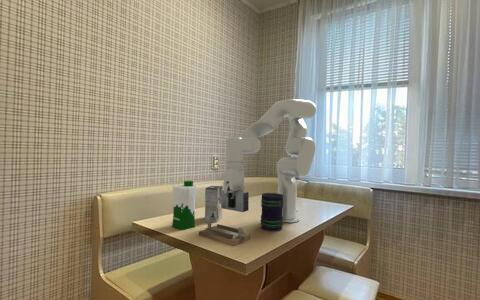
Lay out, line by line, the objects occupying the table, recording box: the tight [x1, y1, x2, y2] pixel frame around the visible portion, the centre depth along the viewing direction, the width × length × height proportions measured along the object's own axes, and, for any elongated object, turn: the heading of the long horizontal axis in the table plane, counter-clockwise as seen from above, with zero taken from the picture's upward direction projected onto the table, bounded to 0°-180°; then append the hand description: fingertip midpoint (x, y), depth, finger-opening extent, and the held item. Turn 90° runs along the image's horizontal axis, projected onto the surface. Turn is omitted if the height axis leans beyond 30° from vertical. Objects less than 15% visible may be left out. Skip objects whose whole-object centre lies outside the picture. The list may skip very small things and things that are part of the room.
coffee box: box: [204, 185, 224, 223], centre depth 130 cm, size 9×6×16 cm
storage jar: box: [260, 192, 284, 232], centre depth 118 cm, size 10×10×15 cm
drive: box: [221, 189, 249, 213], centre depth 116 cm, size 4×12×8 cm, turn 55°
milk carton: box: [172, 180, 198, 231], centre depth 116 cm, size 9×9×20 cm
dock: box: [198, 220, 251, 246], centre depth 105 cm, size 10×18×5 cm, turn 55°
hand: (234, 206), depth 116 cm, fingers closed on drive, 4 cm apart
